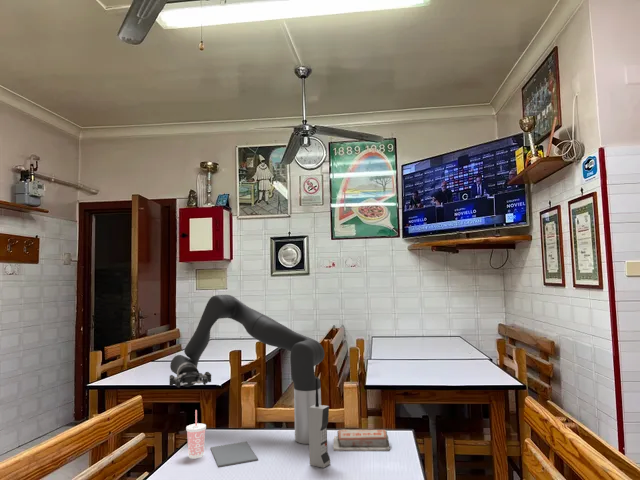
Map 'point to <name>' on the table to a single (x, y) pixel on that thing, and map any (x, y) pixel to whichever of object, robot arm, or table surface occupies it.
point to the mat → (233, 454)
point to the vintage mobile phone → (318, 433)
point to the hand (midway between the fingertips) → (192, 383)
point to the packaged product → (361, 440)
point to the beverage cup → (196, 439)
